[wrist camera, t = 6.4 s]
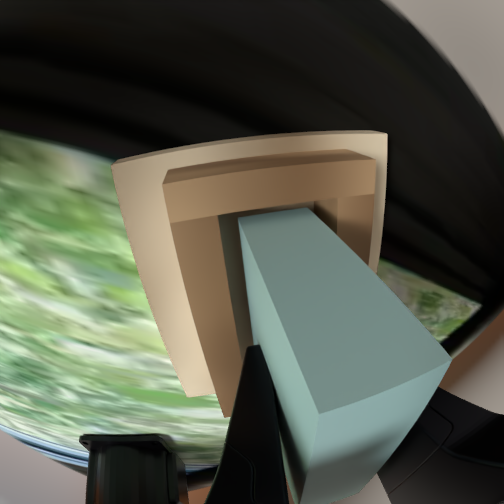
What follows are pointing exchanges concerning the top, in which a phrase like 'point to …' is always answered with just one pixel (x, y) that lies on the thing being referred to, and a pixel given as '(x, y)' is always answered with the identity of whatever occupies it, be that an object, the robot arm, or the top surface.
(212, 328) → the track board
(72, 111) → the top surface
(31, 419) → the top surface
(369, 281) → the slider block
